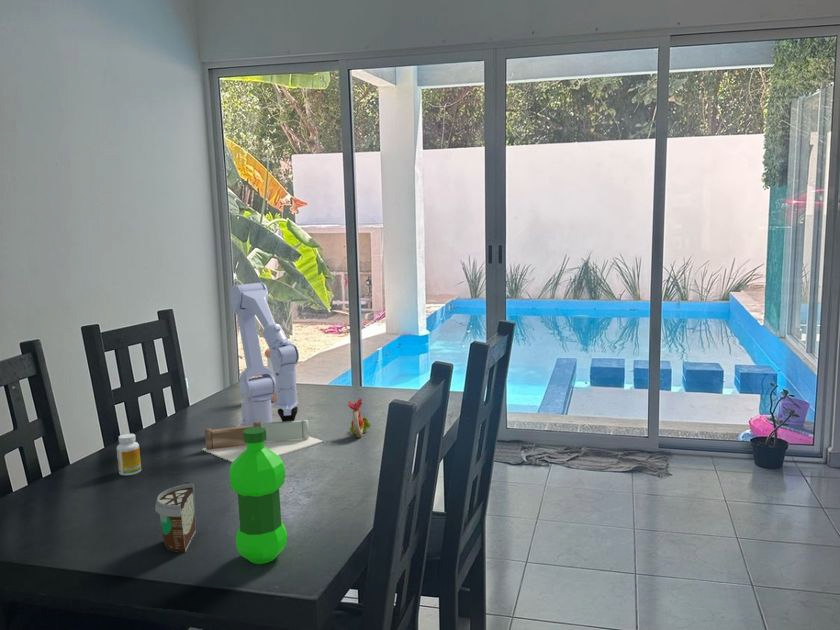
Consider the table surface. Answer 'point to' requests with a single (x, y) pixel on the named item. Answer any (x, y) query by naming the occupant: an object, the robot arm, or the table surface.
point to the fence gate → (286, 430)
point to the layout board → (274, 446)
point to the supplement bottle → (128, 455)
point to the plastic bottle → (258, 499)
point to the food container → (177, 516)
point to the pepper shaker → (270, 366)
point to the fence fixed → (226, 436)
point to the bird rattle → (358, 419)
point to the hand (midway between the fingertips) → (289, 433)
